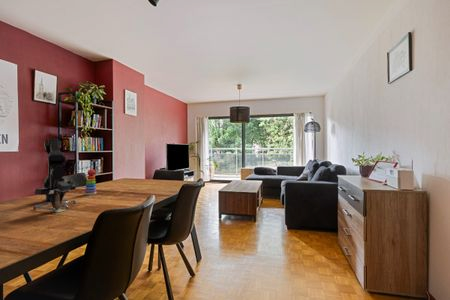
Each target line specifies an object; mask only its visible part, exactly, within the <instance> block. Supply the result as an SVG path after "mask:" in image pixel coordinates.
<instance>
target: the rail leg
mask: <svg viewBox="0 0 450 300" xmlns="http://www.w3.org/2000/svg"><path fill="white" fill-rule="evenodd" d="M76 202H77V201H76V200H75V199H72V200H69V199H68V198H65V199H64V198H63V199H62V202H61V204H60V205H66V204H70V203H72V204H73V205H74V204H76ZM34 205H35V204H34ZM34 205H33V207H32V210H33V211H35V210H37V208H36V207H34ZM47 205H52V204H51V202H49V201H48V202H45V203H41V204H36V205H35V206H41V207H44V206H47Z"/></svg>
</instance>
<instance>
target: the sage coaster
mask: <svg viewBox="0 0 450 300" xmlns="http://www.w3.org/2000/svg"><path fill="white" fill-rule="evenodd" d="M66 211H67V210H66V208H65V209H64V208H59V209H56V213H62V212H66ZM51 212H52V213H53V210H51Z"/></svg>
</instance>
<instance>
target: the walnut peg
mask: <svg viewBox="0 0 450 300" xmlns="http://www.w3.org/2000/svg"><path fill="white" fill-rule="evenodd" d="M54 201H55V203H54V205H52V208H55V209H56V210H58V209H61V206H60V193H56V194H55V196H54Z"/></svg>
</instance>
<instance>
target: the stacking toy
mask: <svg viewBox="0 0 450 300" xmlns="http://www.w3.org/2000/svg"><path fill="white" fill-rule="evenodd" d="M86 173H87V176H86V178H87V179H86V182H85V183H86V184H85V189H84V192H83V193H84V195H85V196H94V195H96V194H97V185H96V182H97V181H96V176H95V174H96V170H95V169H93V168H91V169H89V170H88V171H87V172H86Z"/></svg>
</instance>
